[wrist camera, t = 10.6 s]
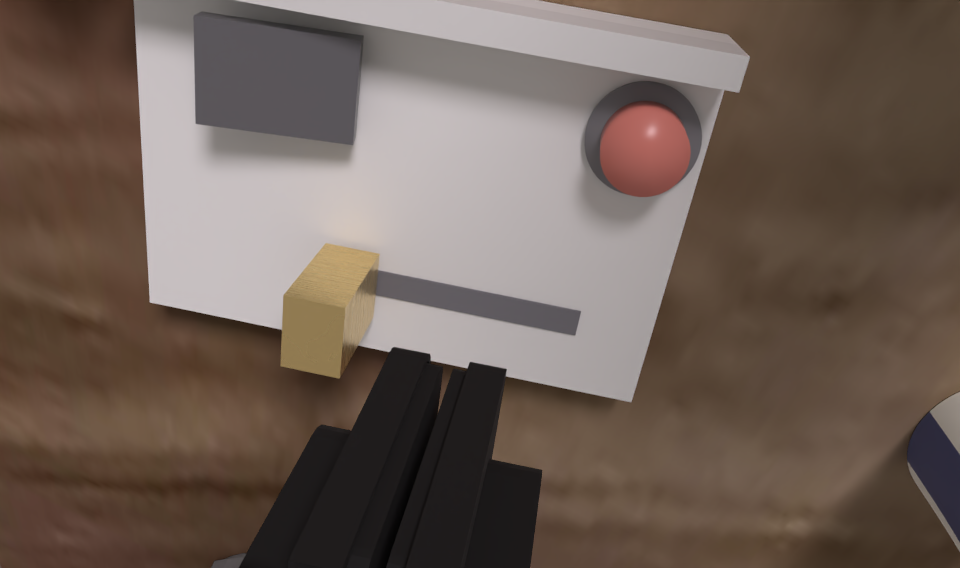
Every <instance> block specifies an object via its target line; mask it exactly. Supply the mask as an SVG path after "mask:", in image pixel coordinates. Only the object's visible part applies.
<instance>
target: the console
mask: <svg viewBox="0 0 960 568" xmlns="http://www.w3.org/2000/svg"><path fill="white" fill-rule="evenodd" d="M201 11H202V12H209V13H216V14H222V15H229V16H236V17H242V18H249V19H256V20H263V21H269V22H276V23H283V24H289V25H296V26H303V27H309V28H316V29H323V30H329V31H336V32H343V33H350V34H356V35H363V36H364V41H363V53H362V66H361V79H360V91H359V104H358V117H357V129H356V139H355V141H354V144H353V145H348V144H340V143H333V142H325V141H318V140H311V139H303V138H296V137H288V136H281V135H274V134H266V133H259V132H251V131H244V130H237V129H229V128H222V127H214V126H207V125H200V124H196V122H195V72H194V21H193V16H194V15H195V14H197V13H199V12H201ZM134 14H135V33H136V52H137V70H138V89H139V107H140V126H141V145H142V163H143V182H144V201H145V219H146V238H147V256H148V275H149V294H150V302H151V303H156V304H160V305H165V306H170V307H175V308H180V309H184V310H189V311H194V312H199V313H204V314H208V315H213V316H218V317H223V318H228V319H233V320H237V321H242V322H247V323H252V324H257V325H261V326H266V327H271V328H276V329H281V330H282V316H283V295H284V294H285V293H286V291H287V290H288V289H289V288H290V286H291V285H292V284H293V283H294V282H295V280H296V279H297V278H298V277H299V275H300V274H301V273H302V272H303V270H304V269H305V268H306V267H307V265H308V264H309V263H310V262H311V261H312V259H313V258H314V257H315V256H316V254H317V253H318V252H319V251H320V249H321V248H322V247H323V246H324V245H325V243H328V244H333V245H338V246H343V247H348V248H353V249H358V250H363V251H368V252H373V253H378V254H380V257H379V266H378V276H377V286H376V296H375V306H374V316H373V319H372V321H371V323H370V325H369V326H368V328H367V330H366V332H365V334H364V335H363V337H362V339H361V341H360V343H359V345H358V346H363V347H367V348H372V349H377V350H382V351H387V352H390V351H391V349H392V348H393V347H398V348H403V349H408V350H413V351H418V352H423V353H428V354H430V355H431V361H435V362H440V363H444V364H449V365H454V366H459V367H464V368H468V366H469V363H470V362H474V363H479V364H484V365H490V366H495V367H500V368H505V369H507V371H506V376H507V377H512V378H517V379H521V380H526V381H531V382H536V383H541V384H545V385H550V386H555V387H560V388H565V389H569V390H574V391H579V392H584V393H589V394H594V395H598V396H603V397H608V398H613V399H618V400H622V401H627V402H632V398H633V395H634V392H635V388H636V385H637V382H638V378H639V375H640V372H641V368H642V365H643V362H644V358H645V355H646V352H647V348H648V345H649V341H650V338H651V335H652V331H653V328H654V325H655V321H656V318H657V315H658V311H659V308H660V305H661V301H662V298H663V295H664V291H665V288H666V284H667V281H668V278H669V274H670V271H671V268H672V264H673V261H674V258H675V254H676V251H677V248H678V244H679V241H680V238H681V234H682V231H683V227H684V224H685V221H686V217H687V214H688V211H689V207H690V204H691V201H692V197H693V194H694V191H695V187H696V184H697V181H698V177H699V174H700V170H701V167H702V164H703V160H704V157H705V154H706V150H707V147H708V144H709V140H710V137H711V134H712V130H713V127H714V124H715V120H716V117H717V114H718V110H719V107H720V103H721V100H722V97H723V93H724V90H727V91H732V92H737V93H739V91H740V88H741V85H742V81H743V78H744V75H745V72H746V68H747V65H748V62H749V59H750V56H749V55H748V54H747V53H746V52H745V51H744V50H743V49H742V48H741V47H740V46H739V45H738V44H737V43H736V42H735V41H734V40H733V39H732V38H731V37H730V36H729V35H728V34H723V33H717V32H712V31H706V30H700V29H695V28H689V27H684V26H678V25H672V24H667V23H661V22H656V21H650V20H645V19H639V18H633V17H628V16H622V15H617V14H611V13H606V12H600V11H594V10H589V9H583V8H578V7H572V6H566V5H561V4H555V3H550V2H544V1H539V0H134ZM637 101H654V102H658V103H661V104H663V105H665V106H667V107H669V108H670V109H671V110H673V111H674V112H675V113H676V114H677V115H678V117H679V118H680V120H681V121H682V123H683V126H684V128H685V131H686V134H687V136H688V139H689V143H690V149H691V154H690V161H689V165H688V168H687V170H686V172H685V174H684V175H683V177H682V178H681V179H680V181H679V182H678V183H677V184H676V185H674V186H673V187H672V188H671V189H669V190H668V191H666V192H664V193H661V194H659V195H655V196H651V197H635V196H631V195H628V194H625V193H623V192H621V191H619V190H618V189H616V188H615V187H614V186H613V185H612V184H611V183H610V182H609V181H608V179H607V178H606V176H605V175H604V172H603V170H602V167H601V162H600V139H601V134H602V130H603V128H604V126H605V124H606V122H607V121H608V119H609V118H610V117H611V116H612V115H613V114H614V113H615V112H616V111H617V110H618V109H620V108H621V107H623V106H625V105H627V104H630V103H633V102H637Z"/></svg>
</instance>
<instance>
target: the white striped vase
mask: <svg viewBox="0 0 960 568" xmlns="http://www.w3.org/2000/svg"><path fill="white" fill-rule="evenodd" d="M907 462H908V467H909V471H910V474H911V476H912V478H913V480H914V481H915V483H916V484H917V486H918V487H919V489H920V491H921V492H922V494H923V495H924V497H925V498H926V500H927V501H928V503H929V504H930V506H931V507H932V509H933V510H934V512H935V513H936V515H937V516H938V518H939V519H940V521H941V523H942V524H943V526H944V527H945V529H946V531H947V532H948V534H949V535H950V537H951V538H952V540H953V542H954V543H955V545H956V547H957V548H958V550H959V552H960V392H958V393H956V394H954V395H952V396H950V397H949V398H947V399H945V400H944V401H942V402H941V403H939V404H938V405H937V406H935V407H934V408H933V409H932V410H931V411H930V412H928V413H927V414H926V416H925V417H924V418H923V419H922V420H921V421H920V423H919V424H918V425H917V427H916V429H915V430H914V432H913V434H912V436H911V439H910V442H909V446H908V451H907Z"/></svg>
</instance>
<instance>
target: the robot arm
mask: <svg viewBox="0 0 960 568" xmlns="http://www.w3.org/2000/svg"><path fill="white" fill-rule="evenodd" d="M506 371H507V369H505V368H500V367H495V366H490V365H484V364H479V363H474V362H470V363H469V366H468V369H467V371H463V370H458V369H453V371H452V374H451V377H450V380H449V383H448V386H447V389H446V392H445V394H444V397H443V400H442V403H441V406H440V409H439V412H438V406H439V398H440V390H441V382H442V373H443V367H442V366H438V365H433V364H431V355H430V354H428V353H423V352H418V351H413V350H408V349H403V348H398V347H393V348H392V349H391V351H390V353H389V355H388V357H387V359H386V361H385V363H384V365H383V367H382V369H381V371H380V373H379V375H378V377H377V379H376V381H375V383H374V385H373V388H372V390H371V392H370V394H369V396H368V398H367V400H366V402H365V404H364V406H363V408H362V410H361V412H360V414H359V416H358V418H357V420H356V422H355V425H354V427H353V429H352V431H350V430H345V429H340V428H336V427H331V426H326V425H320V426H319V427H317V429H316V430H315V432H314V433H313V434H312V436H311V438H310V440H309V442H308V443H307V445H306V447H305V449H304V451H303V453H302V454H301V456H300V458H299V460H298V462H297V463H296V465H295V467H294V469H293V471H292V472H291V474H290V476H289V478H288V480H287V481H286V483H285V485H284V487H283V489H282V490H281V492H280V494H279V496H278V498H277V499H276V501H275V503H274V505H273V507H272V508H271V510H270V512H269V514H268V516H267V517H266V519H265V521H264V523H263V525H262V527H261V528H260V530H259V532H258V534H257V536H256V537H255V539H254V541H253V543H252V545H251V546H250V548H249V550H248V552H247V554H246V555H245V557H244V559H243V561H242V563H241V564H240V566H239V568H530V563H531V556H532V548H533V540H534V532H535V525H536V517H537V509H538V502H539V494H540V486H541V478H542V470H540V469H535V468H530V467H525V466H520V465H515V464H510V463H506V462H501V461H496V460H492V454H493V448H494V442H495V436H496V430H497V425H498V419H499V413H500V407H501V401H502V395H503V389H504V384H505V378H506ZM437 414H438V415H437Z"/></svg>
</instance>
